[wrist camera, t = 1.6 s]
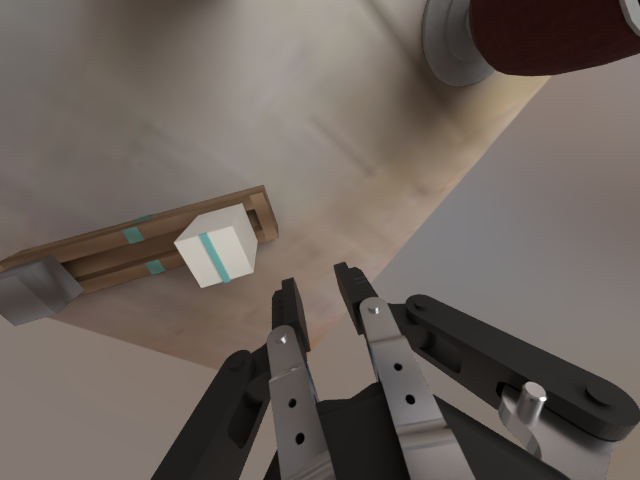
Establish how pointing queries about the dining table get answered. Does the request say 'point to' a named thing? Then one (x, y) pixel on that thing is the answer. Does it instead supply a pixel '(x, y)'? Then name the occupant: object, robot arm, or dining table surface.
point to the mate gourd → (526, 36)
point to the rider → (219, 246)
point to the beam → (111, 256)
